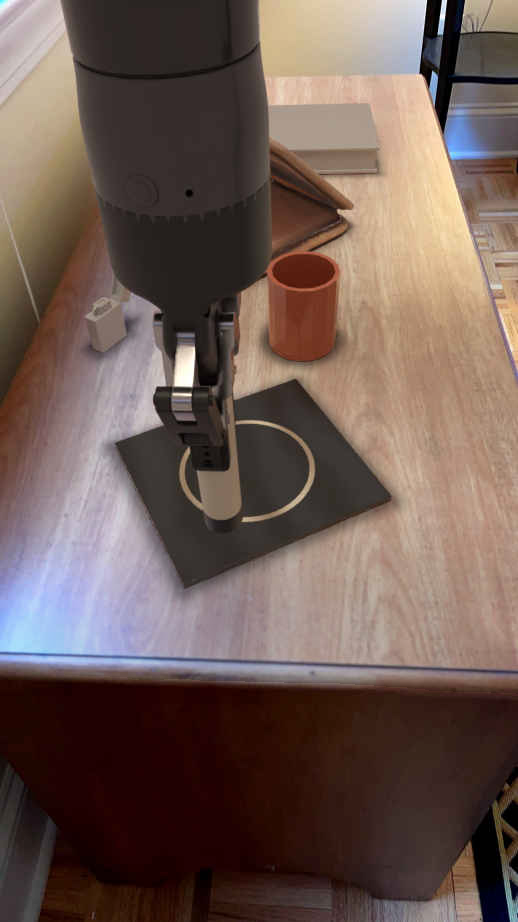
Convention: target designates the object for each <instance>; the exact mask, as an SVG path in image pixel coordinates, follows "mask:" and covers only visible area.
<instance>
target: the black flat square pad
mask: <svg viewBox="0 0 518 922" xmlns="http://www.w3.org/2000/svg"><path fill="white" fill-rule="evenodd" d="M234 406H235V418H236V423H235V435H236V446H237V458H238V469H239V480H240V492H241V503H242V514H243V520H242V523H241V525H240V526H239V527H238V528H237V529H236V530H234V531H233V532H230V533H226V534H219V533H215V532H213V531H211V530H210V529H209V528H208V527H207V526H206V524H205V519H204V513H203V507H202V500H201V494H200V487H199V481H198V474H197V470H196V469H194V468H193V466H192V460H191V454H190V448H189V445H175V443H174V441H173V440H172V438H171V436H170V435H169V433H168V431H167V430H166V428H165V426H164V424H163V425H161V426H157V427H155V428H152V429H149V430H146V431H144V432H143V431H142V432H141V433H138V434H135V435H132V436H129V437H127V438H124V439H121V440H118V441H116V442H114V447H115V449H116V450H117V454H119V458H120V459H121V461H122V463H123V465H124V467H125V470H126V471H127V474H128V475H129V478H130V480H131V482H132V484H133V486H134V488H135V490H136V492H137V494H138V496H139V498H140V500H141V503H142V504H143V506H144V508H145V511H146V513H147V515H148V517H149V518H150V521H151V523H152V525H153V527H154V529H155V531H156V534H157V535H158V537H159V539H160V541H161V543H162V546H163V548H164V550H165V552H166V554H167V556H168V558H169V560H170V562H171V564H172V566H173V568H174V570H175V572H176V574H177V576H178V579H179V580H180V582H181V585H182V587H183V589H186V588H188V587H190V586H193V585H195V584H197V583H199V582H203V581H204V580H207V579H209V578H211V577H214V576H216V575H218V574H221V573H223V572H226V571H228V570H230V569H232V568H233V569H234V567H237V566H240V565H243V564H244V563H247V562H249V561H252V560H254V559H256V558H258V557H260V556H261V557H262V556H263V555H265V554H268V553H270V552H272V551H274V550H277V549H280V548H282V547H284V546H286V545H289V544H292V543H294V542H296V541H298V540H301V539H303V538H306V537H308V536H309V535H312V534H315V533H317V532H319V531H321V530H324V529H326V528H329V527H331V526H334V525H335V524H338V523H340V522H343V521H345V520H348V519H350V518H352V517H354V516H357V515H359V514H361V513H364V512H366V511H368V510H371V509H374V508H376V507H378V506H381V505H383V504H385V503H388V502H390V501H391V500H392V494H391V493H390V492H389V490H388V489H387V488H386V487H385V486H384V485H383V484H382V482H381V481H380V480H379V479H378V477H377V475H375V474H374V472H373V471H372V469H370V468H369V466H368V465H367V464H366V462H365V461H364V460H363V459H362V458H361V456H360V455H359V454H358V453H357V451H356V450H355V449H354V448H353V447H352V445H351V444H350V443H349V441H347V439H346V438H345V437H344V435H343V434H342V433H341V432H340V430H339V429H338V428H337V427H336V425H334V423H333V422H332V420H331V419H329V417H328V416H327V414H325V412H324V410H322V409H321V407H320V406H319V404H317V402H316V401H315V400H314V399H313V398H312V396H311V395H310V394H309V392H308V391H307V390H306V389H305V388H304V386H303V385H302V384H301V383H300V382H299V380H298V379H297V378H294V379H290V380H288V381H286V382H282V383H279V384H277V385H274V386H271V387H268V388H266V389H265V388H264V389H261V390H259V391H257V392H254V393H251V394H248V395H246V396H242V397H239V398H238V399H234Z"/></svg>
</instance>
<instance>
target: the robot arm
mask: <svg viewBox="0 0 518 922" xmlns="http://www.w3.org/2000/svg"><path fill="white" fill-rule="evenodd" d="M59 2H60V6H61V10H62V16H63V21H64V25H65V29H66V34H67V38H68V44H69V47H70V48H69V49H70V53H71V54H72V62H73V69H74V74H75V85H76V98H77V108H78V117H79V124H80V129H81V135H82V139H83V143H84V148H85V152H86V157H87V161H88V167H89V170H90V175H91V180H92V183H93V190H94V193H95V198H96V201H97V202H96V203H97V206H98V211H99V217H100V220H101V225H102V229H103V235H104V239H105V243H106V248H107V252H108V256H109V257H108V258H109V262H110V266H111V269H112V273H113V272H114V274H115V276H116V278H117V279H118V281H119V282H120V283H121V284H122V285H123V286H124V287H125V288H126V289H127V290H129V291H130V292H131V294H133V295H135V296H137V297H139V298H142V299H143V300H146V301H147V302H149V303H151V304H152V305H154V307H156V308H157V309H158V310H155V311H154V312H153V317H152V328H153V336H154V343H155V346H156V347H157V349H158V350H159V351H160V352H161V357H162V364H163V373H164V380H165V385H157V386H156V387H155V390H154V393H153V396H152V405H153V406H154V411H155V413H156V414H157V416H158V418H159V419H160V421H161V423H162V424H163V425H164V426H165V428H166V430H167V431H168V433H169V435H170V436H171V438H172V440H173V441H174V443H175V445H189V448H190V454H191V460H192V466H193V468H194V469H196V470H198V471H214V472H224V471H227V470H229V468H230V462H231V454H230V443H229V433H228V424H229V423H230V415H228V409H227V398H229V397H230V396H231V395H232V401H233V412H234V424H235V423H236V418H235V406H234V400H235V396H234V395H235V394H234V387H235V380H236V377H235V376H236V375H237V365H236V364H235V357H236V356H237V355H238V354H239V352H240V342H241V328H240V315H241V307H242V306H241V305H242V292H244V291H246V290H247V289H249V288H250V287H251V286H254V284H256V283H257V282H258V281H259V280H260V279H261V278H262V276H264V275H265V274H266V273H265V271H266V270H267V268H268V266H269V264H270V261H271V257H272V222H271V180H270V146H269V111H268V105H269V99H268V90H267V84H266V79H265V72H264V65H263V58H262V48H261V47H262V46H261V45H262V44H261V40H260V38H261V20H260V17H261V16H260V0H59ZM264 273H265V274H264ZM263 274H264V275H263Z"/></svg>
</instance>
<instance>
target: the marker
mask: <svg viewBox="0 0 518 922" xmlns="http://www.w3.org/2000/svg"><path fill="white" fill-rule="evenodd" d="M227 409H228V415H230V423H229V424H228V433H229V443H230V454H231V462H230V468H229V470H227V471H224V472H214V471H198V470H197V474H198V481H199V487H200V494H201V500H202V507H203V513H204V519H205V524H206V526H207V527H208V528H209V529H210V530H211V531H213V532H215V533H219V534H226V533H230V532H233V531H234V530H236V529H237V528H238V527H239V526H240V525H241V523H242V520H243V514H242V503H241V492H240V480H239V469H238V458H237V446H236V435H235V424H234V412H233V401H232V395H231V396H230V397H229V398H227Z"/></svg>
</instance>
